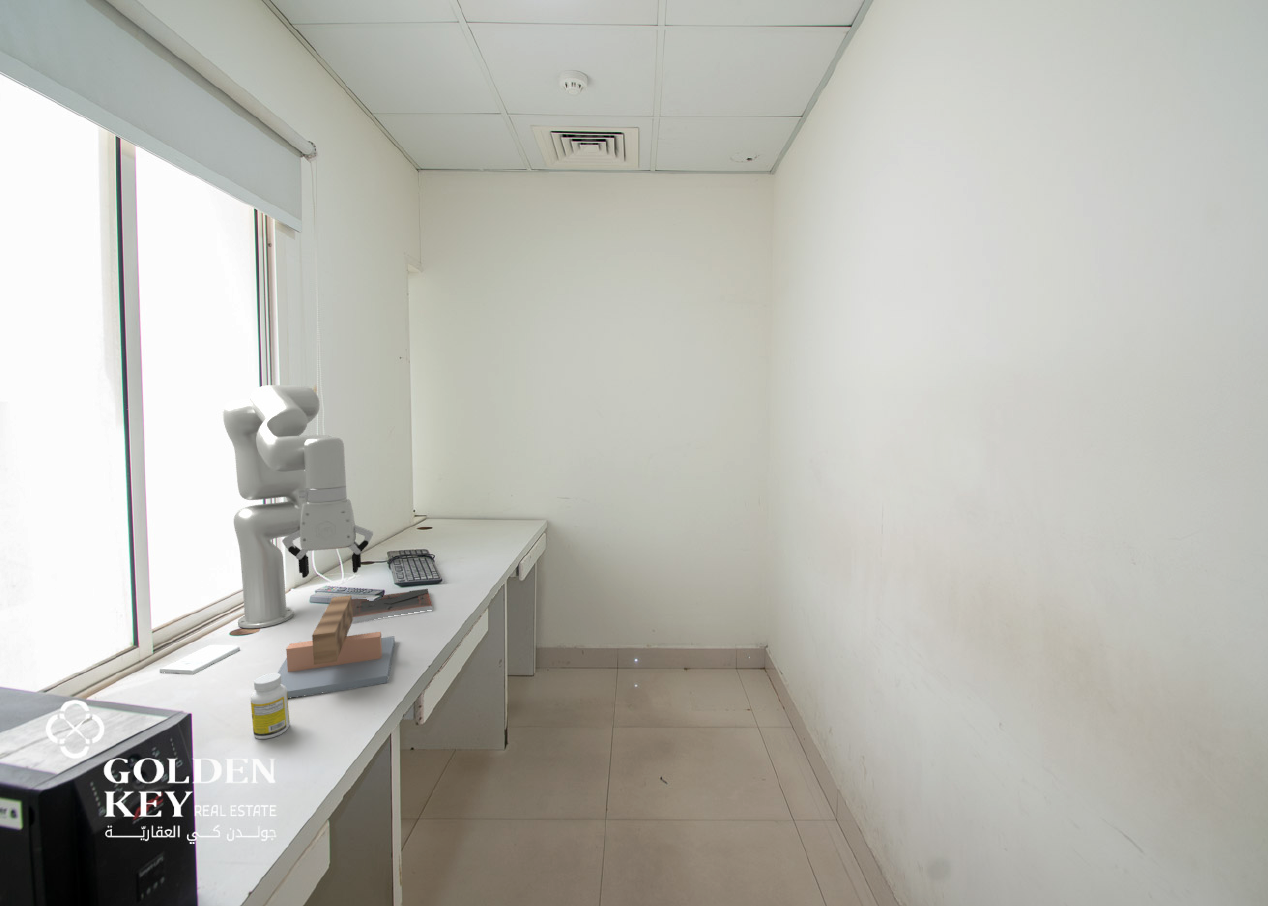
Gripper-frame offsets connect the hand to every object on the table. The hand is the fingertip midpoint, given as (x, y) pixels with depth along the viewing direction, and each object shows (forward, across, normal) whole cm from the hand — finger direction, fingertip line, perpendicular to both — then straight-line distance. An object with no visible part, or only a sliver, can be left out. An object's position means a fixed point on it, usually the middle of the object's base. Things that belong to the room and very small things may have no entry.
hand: (331, 573), depth 122 cm
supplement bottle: (+21, -7, -23) cm, 32 cm away
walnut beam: (+15, 0, 0) cm, 15 cm away
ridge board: (+21, 0, 0) cm, 21 cm away
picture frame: (+22, +8, +37) cm, 44 cm away
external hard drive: (+22, -30, +16) cm, 40 cm away
